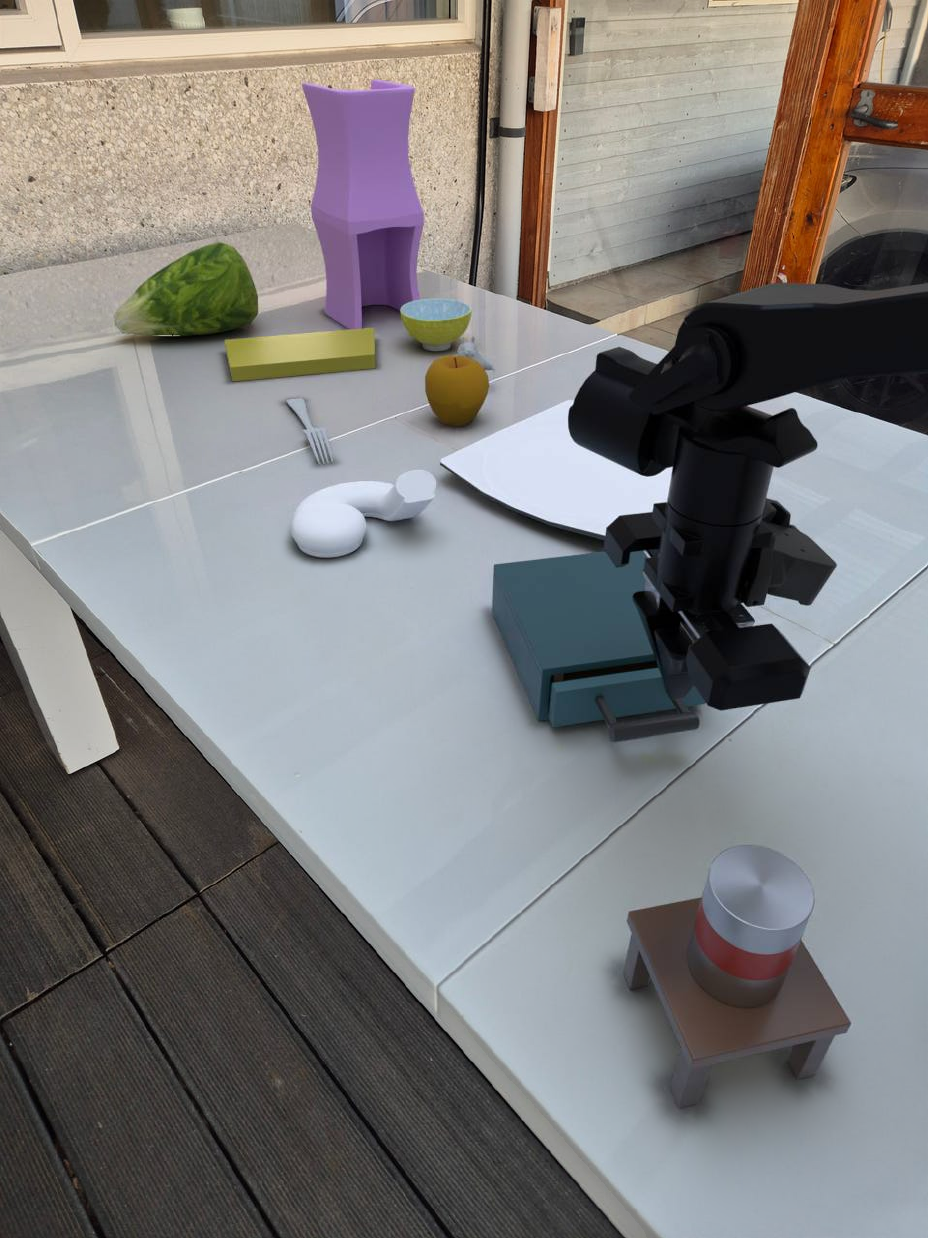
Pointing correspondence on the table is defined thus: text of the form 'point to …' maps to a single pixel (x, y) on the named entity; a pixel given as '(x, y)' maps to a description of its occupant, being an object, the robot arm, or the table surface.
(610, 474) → the plate
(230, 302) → the lettuce
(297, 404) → the fork
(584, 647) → the cabinet
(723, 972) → the can
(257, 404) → the table surface
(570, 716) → the drawer
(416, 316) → the bowl
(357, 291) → the purple hollow column
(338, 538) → the sculpture
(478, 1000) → the table surface
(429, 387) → the apple
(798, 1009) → the stool
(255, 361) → the flat olive board
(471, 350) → the figurine
